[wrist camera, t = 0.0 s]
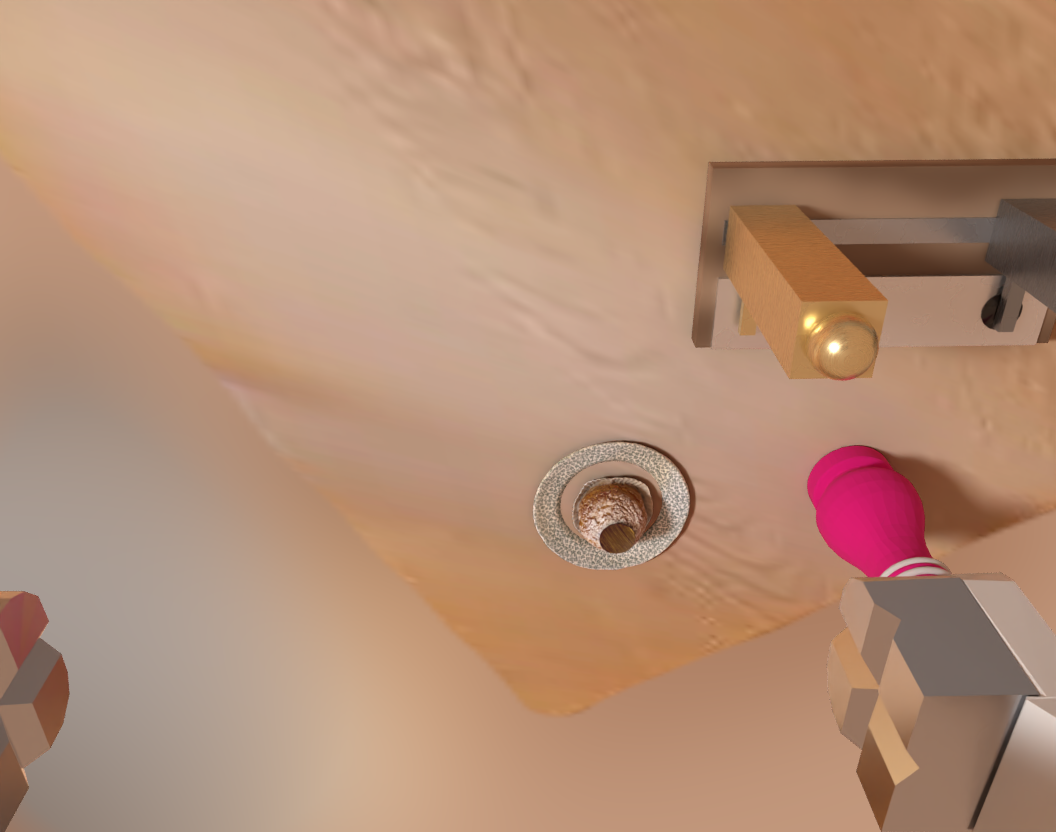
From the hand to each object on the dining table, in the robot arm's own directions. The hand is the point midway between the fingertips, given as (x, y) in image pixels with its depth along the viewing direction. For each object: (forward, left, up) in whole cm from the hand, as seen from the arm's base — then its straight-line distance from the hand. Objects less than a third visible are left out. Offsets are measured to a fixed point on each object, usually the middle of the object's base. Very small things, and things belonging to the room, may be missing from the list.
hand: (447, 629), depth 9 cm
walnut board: (+13, +25, -48) cm, 56 cm away
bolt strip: (+15, +25, -46) cm, 55 cm away
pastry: (+33, +8, -49) cm, 60 cm away
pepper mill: (+31, +26, -48) cm, 63 cm away
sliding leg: (+14, +16, -46) cm, 50 cm away
